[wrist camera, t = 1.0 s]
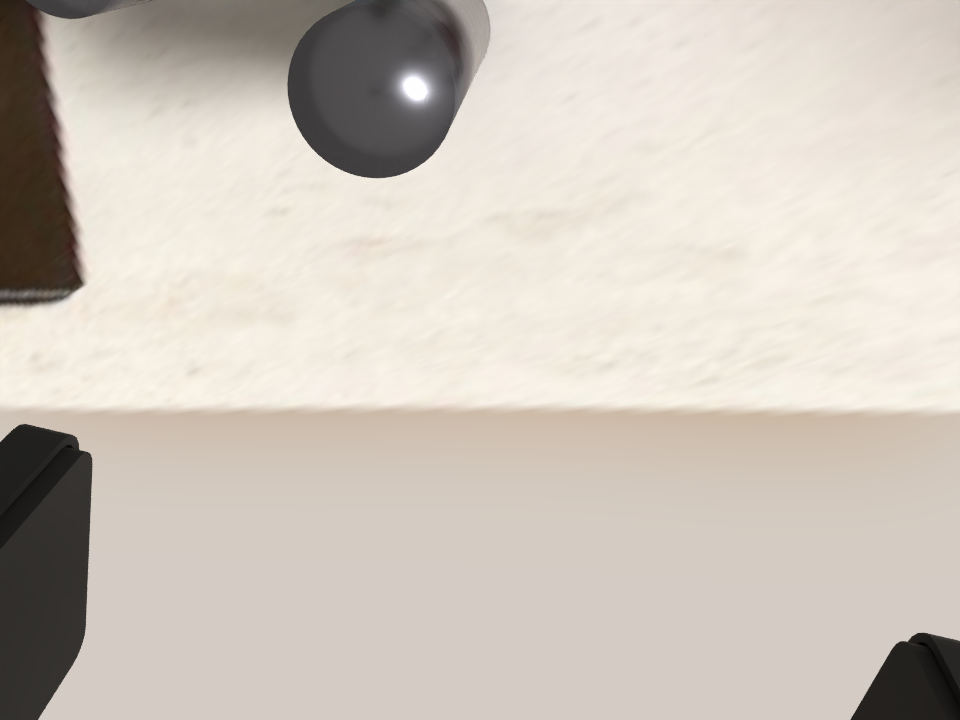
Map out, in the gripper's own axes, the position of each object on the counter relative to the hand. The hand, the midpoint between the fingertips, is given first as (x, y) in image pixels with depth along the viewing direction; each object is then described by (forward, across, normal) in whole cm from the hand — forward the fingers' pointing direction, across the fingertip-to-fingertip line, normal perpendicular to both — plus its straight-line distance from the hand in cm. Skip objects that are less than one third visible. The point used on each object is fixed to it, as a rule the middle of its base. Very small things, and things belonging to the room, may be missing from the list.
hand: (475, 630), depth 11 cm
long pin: (+26, +4, -3) cm, 26 cm away
